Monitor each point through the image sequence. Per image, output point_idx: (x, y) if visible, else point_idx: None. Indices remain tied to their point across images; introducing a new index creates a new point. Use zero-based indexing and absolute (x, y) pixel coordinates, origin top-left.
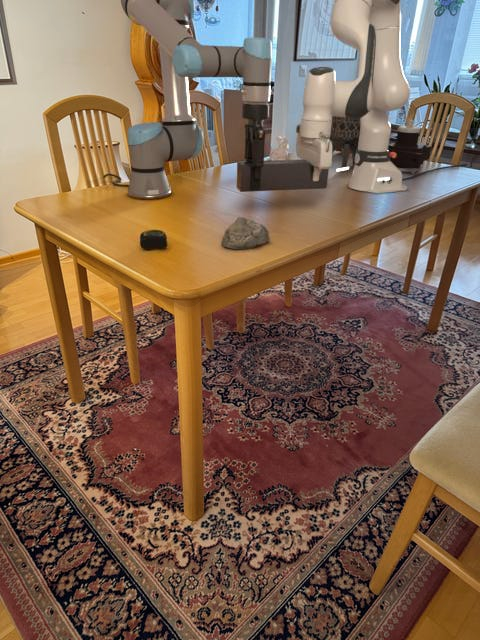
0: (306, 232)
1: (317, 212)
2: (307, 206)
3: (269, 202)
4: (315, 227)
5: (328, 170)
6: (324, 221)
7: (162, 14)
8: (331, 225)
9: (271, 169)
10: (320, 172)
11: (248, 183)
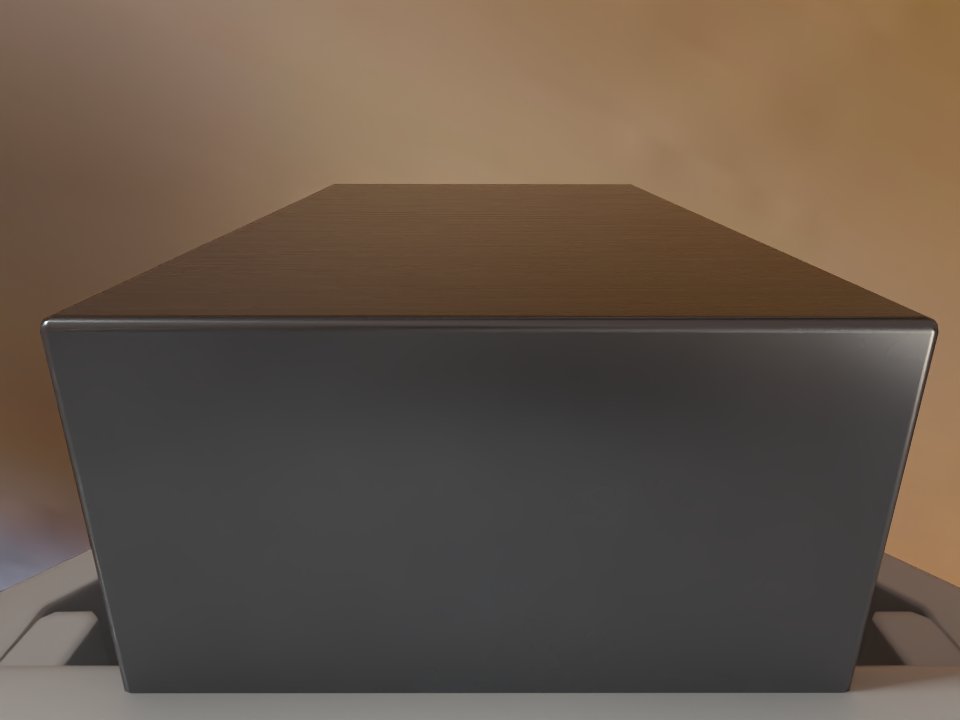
0: (955, 489)
1: (432, 170)
2: (192, 197)
3: (45, 527)
4: None
5: (763, 247)
6: (743, 220)
7: None
8: (881, 199)
9: None
10: (902, 564)
11: None
